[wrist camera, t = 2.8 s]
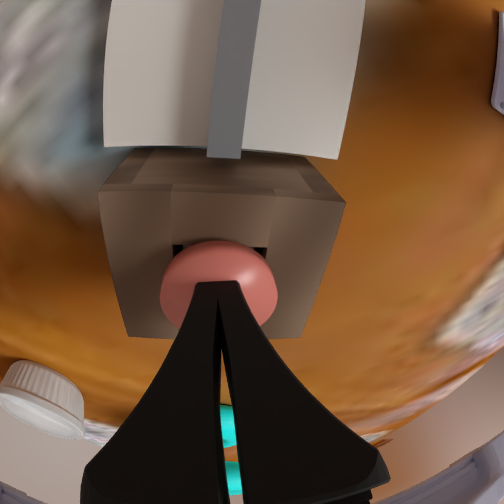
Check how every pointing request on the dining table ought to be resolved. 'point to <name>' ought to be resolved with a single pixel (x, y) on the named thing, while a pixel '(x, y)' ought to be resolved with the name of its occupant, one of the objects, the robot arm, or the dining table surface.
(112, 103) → the rail
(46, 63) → the dining table surface
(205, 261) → the button
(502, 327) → the dining table surface
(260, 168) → the cabinet
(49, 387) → the ramekin
